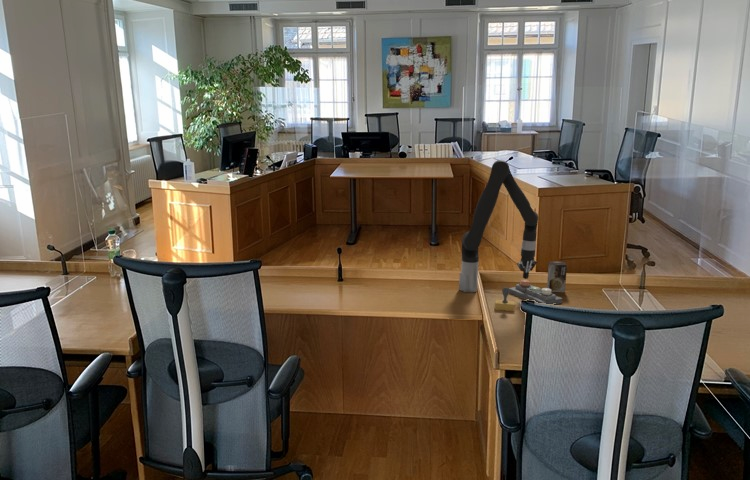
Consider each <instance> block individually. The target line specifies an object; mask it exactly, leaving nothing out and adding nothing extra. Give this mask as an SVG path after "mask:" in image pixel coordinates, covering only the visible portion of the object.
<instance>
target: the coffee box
mask: <svg viewBox="0 0 750 480" xmlns="http://www.w3.org/2000/svg"><path fill="white" fill-rule="evenodd" d="M547 268H548V269H547V280H546V281H547V283H546V288H549V289H551V293H566V281H567V269H568V265H567V263H566V261H548V267H547Z"/></svg>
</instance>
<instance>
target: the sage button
mask: <svg viewBox="0 0 750 480" xmlns="http://www.w3.org/2000/svg"><path fill="white" fill-rule="evenodd" d="M540 289H541V288H540V287H538V286H534V287H531V291H534V292H538V291H540Z"/></svg>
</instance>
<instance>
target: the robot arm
mask: <svg viewBox="0 0 750 480" xmlns="http://www.w3.org/2000/svg"><path fill="white" fill-rule="evenodd" d="M490 169H491V170H490V174H489V177H488V181H487V183H486V186H484V188H483V191H482V193H481V195H480V197H479V199H478V201H477V203H476V207H475V209H474V213H473V218H472V223H471V227H470V229H469V230H468V231H466V232H465V233H464V234H463V236H462V238H461V269H460V270H461V271H460V273H459V280H458V281H459V283H458V291H461V292H463V293H475V292H477V290H478V278H479V261H480V260H479V259H480V257H479V247H480V245H481V243H482V239H483V235H484V232H485V229H486V226H487V224H488V223H489V220H490V218H491V216H492V214H493V211H494V209H495V207H496V204H497V201H498V197H499V194H500V190H501V188H502V185H503V186H504V187H505V189H506V191H507V193H508V195H509V197H510V199H511V200H512V203H513V204H514V206H515V207H516V209H517V210H518V212H519V213H520V214H519V215H520V216H521V218H522V220H523V221H524V227H523V228H524V229H523V233H522V240H521V247H520V248H521V249H520V261H519V262H516V266H517V267H518V269H519V270H520V271H521V272H523V273H522V274H523V275H522V277H523V278H522V279H523V280H528V278H529V276H530V275H529V274H530V272H532V271H533V269H534V268H535V267H536V265H537V264H538V261H537V260H535V256H536V248H537V230H538V229H537V228H538V223H539V214H538V213H537V211H534V210H533V208H532V206H531V204H530V202H529V200H528V197H526V195H525V192H524V191H523V190H522V189H521V188H520V186H519V184H518V183H517V181H516V180H515V178H514V177H513V175H512V172H511V170H510V165H509V163H508V162H507V161H505V160H503V159H498V160H496V161H494V163H493V164H492V165H491V168H490Z"/></svg>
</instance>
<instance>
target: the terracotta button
mask: <svg viewBox="0 0 750 480" xmlns="http://www.w3.org/2000/svg"><path fill="white" fill-rule="evenodd" d="M530 283H531V281H530V280H528V279H521V280H520V283H519V284H520V286H523V287H529V286H530V285H531V284H530Z"/></svg>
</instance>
